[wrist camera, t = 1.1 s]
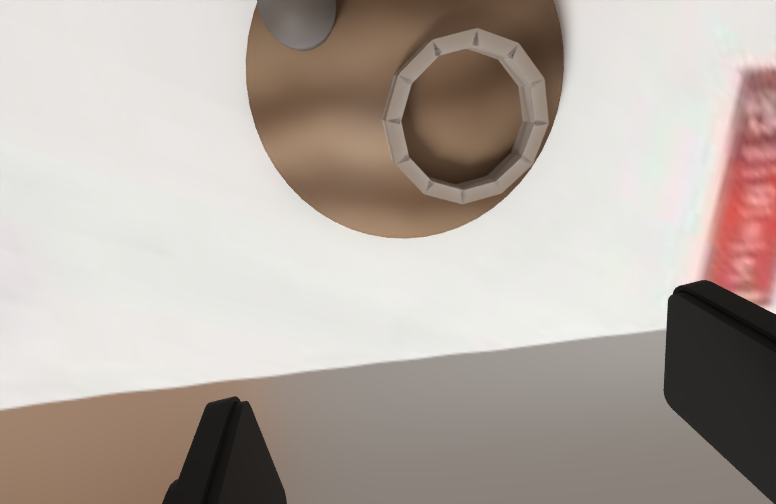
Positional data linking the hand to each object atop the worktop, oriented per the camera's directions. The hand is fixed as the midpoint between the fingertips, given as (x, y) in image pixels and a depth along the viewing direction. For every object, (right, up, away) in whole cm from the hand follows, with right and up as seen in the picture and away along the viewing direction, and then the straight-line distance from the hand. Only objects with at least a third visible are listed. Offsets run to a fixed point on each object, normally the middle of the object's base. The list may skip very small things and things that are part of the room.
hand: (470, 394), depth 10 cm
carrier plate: (0, +15, +22) cm, 27 cm away
